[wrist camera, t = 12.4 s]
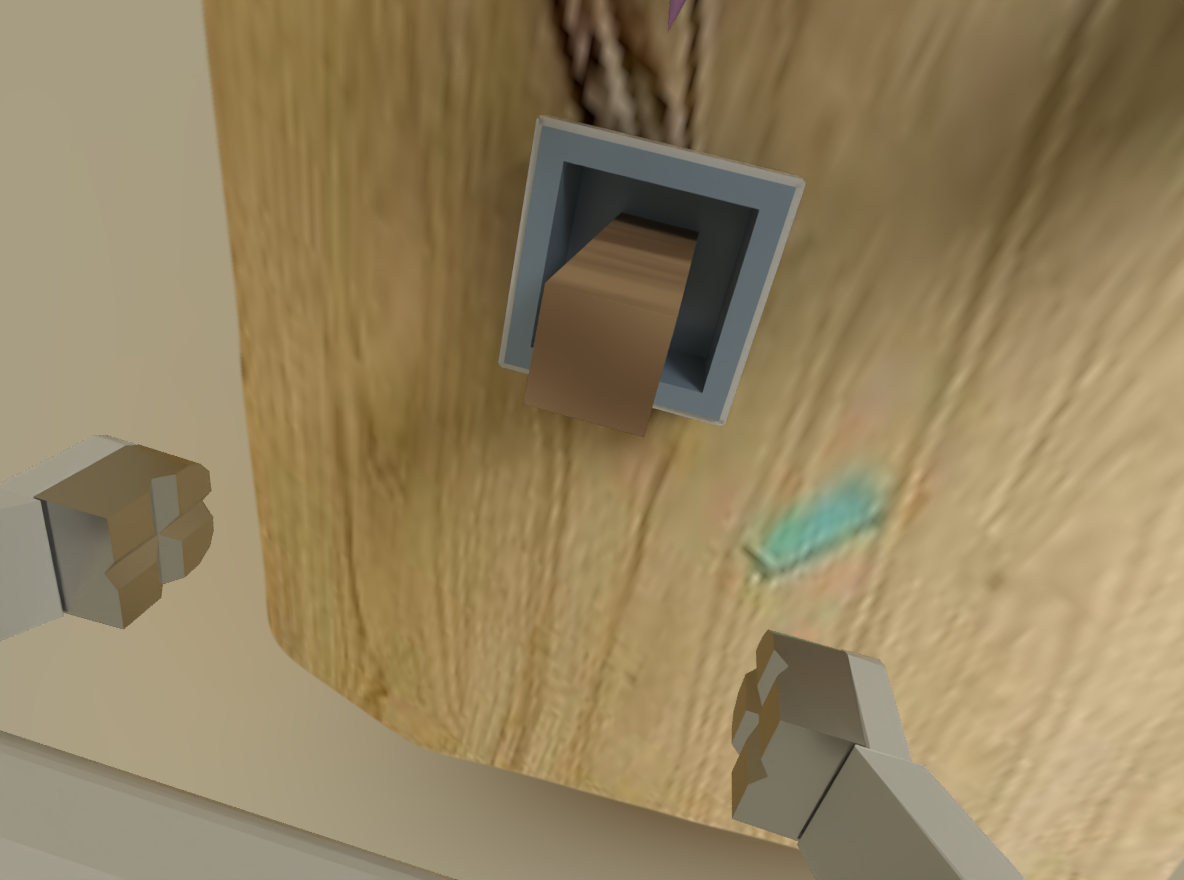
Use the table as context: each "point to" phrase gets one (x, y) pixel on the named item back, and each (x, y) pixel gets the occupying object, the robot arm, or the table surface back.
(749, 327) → the blue square box
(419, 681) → the table surface
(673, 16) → the mauve toy figure
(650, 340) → the brown wooden block
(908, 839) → the robot arm
